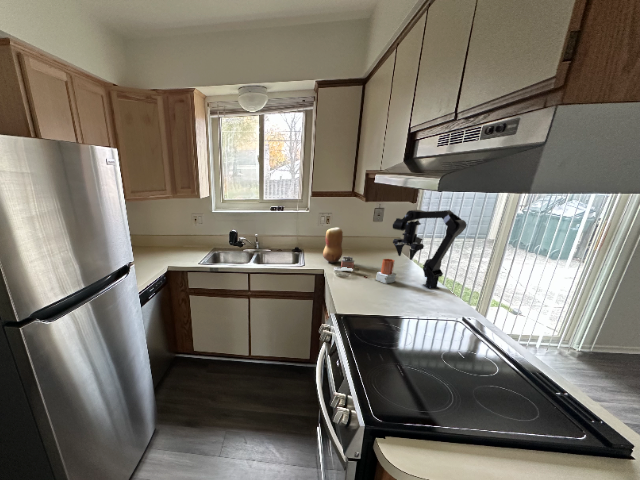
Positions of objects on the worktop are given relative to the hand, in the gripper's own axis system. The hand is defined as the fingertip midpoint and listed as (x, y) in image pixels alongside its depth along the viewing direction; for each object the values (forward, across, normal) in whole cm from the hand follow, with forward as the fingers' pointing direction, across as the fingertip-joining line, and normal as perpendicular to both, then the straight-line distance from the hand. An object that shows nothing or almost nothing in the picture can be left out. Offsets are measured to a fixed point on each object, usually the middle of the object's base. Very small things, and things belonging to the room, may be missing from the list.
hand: (405, 257), depth 193 cm
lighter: (+13, +23, +23) cm, 36 cm away
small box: (+13, -2, +13) cm, 19 cm away
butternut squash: (+13, +46, +21) cm, 52 cm away
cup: (+8, -2, +13) cm, 16 cm away
